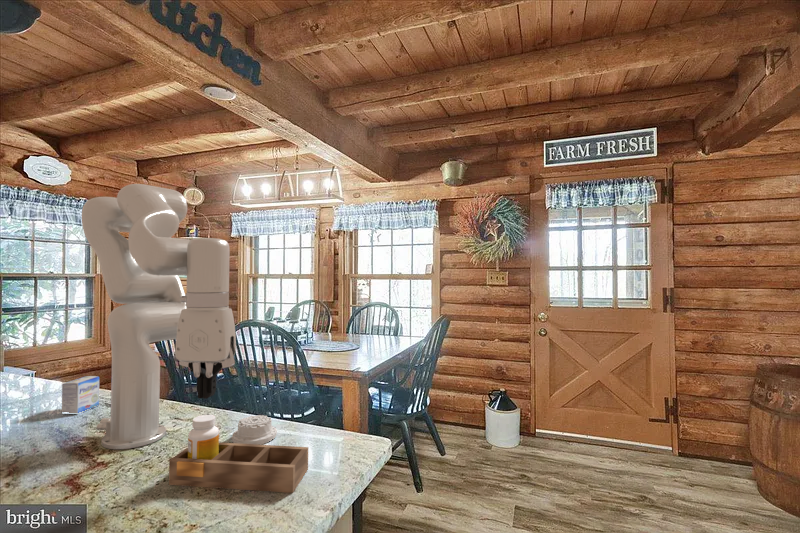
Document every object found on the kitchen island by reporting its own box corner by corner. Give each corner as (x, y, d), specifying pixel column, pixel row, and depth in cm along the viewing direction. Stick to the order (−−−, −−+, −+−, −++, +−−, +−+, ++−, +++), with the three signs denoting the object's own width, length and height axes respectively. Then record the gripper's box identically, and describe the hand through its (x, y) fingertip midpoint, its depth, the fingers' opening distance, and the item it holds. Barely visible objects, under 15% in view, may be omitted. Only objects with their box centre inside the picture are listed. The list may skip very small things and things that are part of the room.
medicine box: (77, 415, 109) (78, 383, 109) (60, 415, 109) (61, 383, 109) (99, 405, 117) (100, 375, 117) (84, 405, 117) (84, 375, 117)
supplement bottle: (224, 463, 80) (225, 414, 80) (206, 476, 75) (207, 424, 75) (199, 460, 81) (200, 412, 81) (180, 473, 76) (182, 421, 76)
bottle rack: (167, 486, 74) (167, 461, 74) (196, 463, 83) (196, 441, 83) (292, 494, 72) (292, 468, 72) (308, 469, 80) (308, 447, 81)
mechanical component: (222, 445, 92) (262, 449, 90) (223, 425, 92) (263, 429, 90) (247, 428, 102) (284, 432, 100) (247, 411, 102) (284, 414, 100)
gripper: (158, 302, 76) (156, 401, 75) (235, 303, 74) (233, 404, 74) (183, 300, 83) (182, 390, 83) (253, 301, 82) (252, 392, 81)
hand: (206, 396), depth 78 cm, fingers closed
